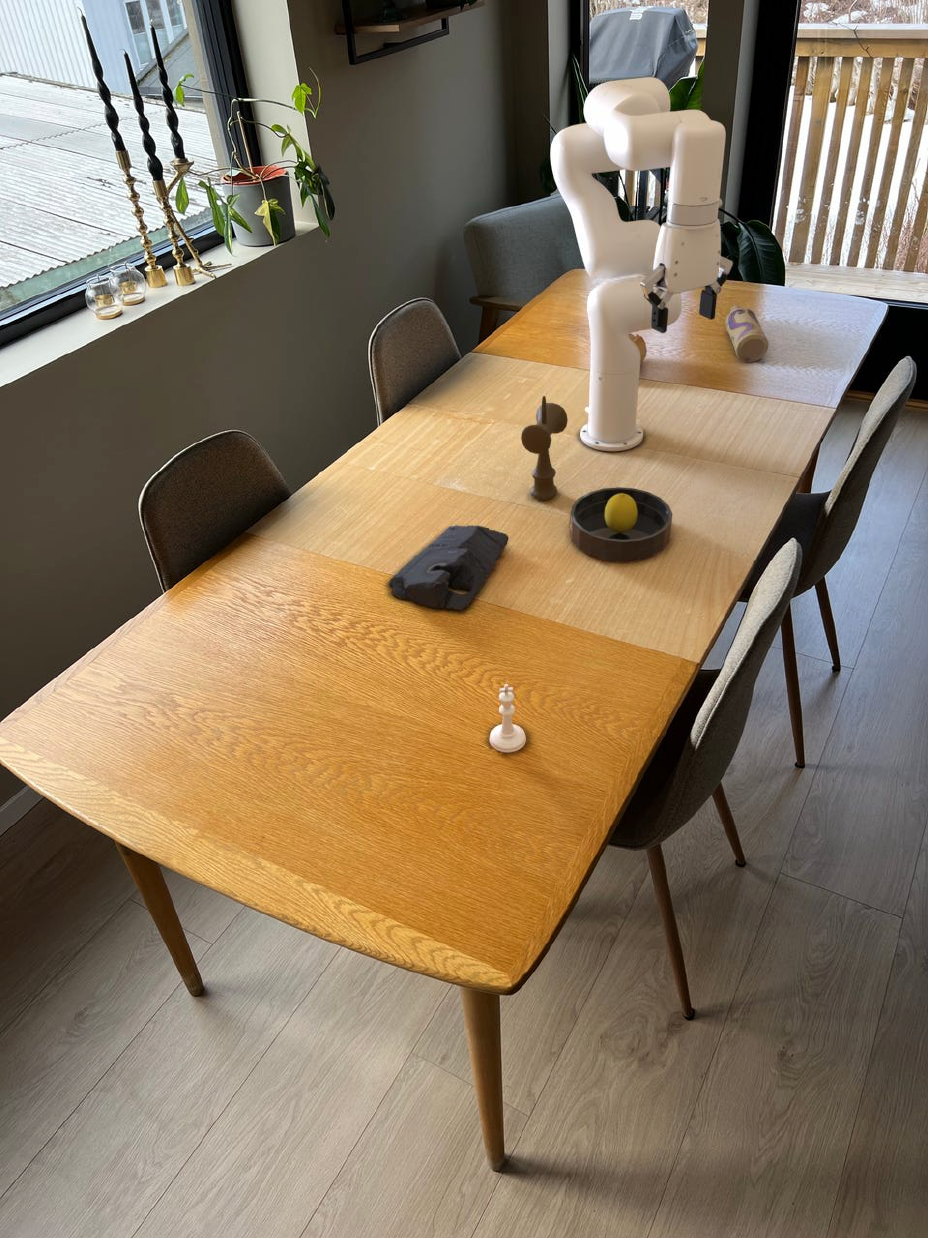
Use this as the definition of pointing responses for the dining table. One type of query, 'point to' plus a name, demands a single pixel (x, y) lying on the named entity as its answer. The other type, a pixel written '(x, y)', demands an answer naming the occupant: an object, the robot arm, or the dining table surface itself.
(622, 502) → the lemon
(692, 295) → the dining table surface
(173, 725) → the dining table surface
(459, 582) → the dark slate chunk
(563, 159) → the robot arm
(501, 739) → the chess piece
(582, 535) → the pan
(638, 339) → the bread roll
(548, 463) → the kendama
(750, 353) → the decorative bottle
